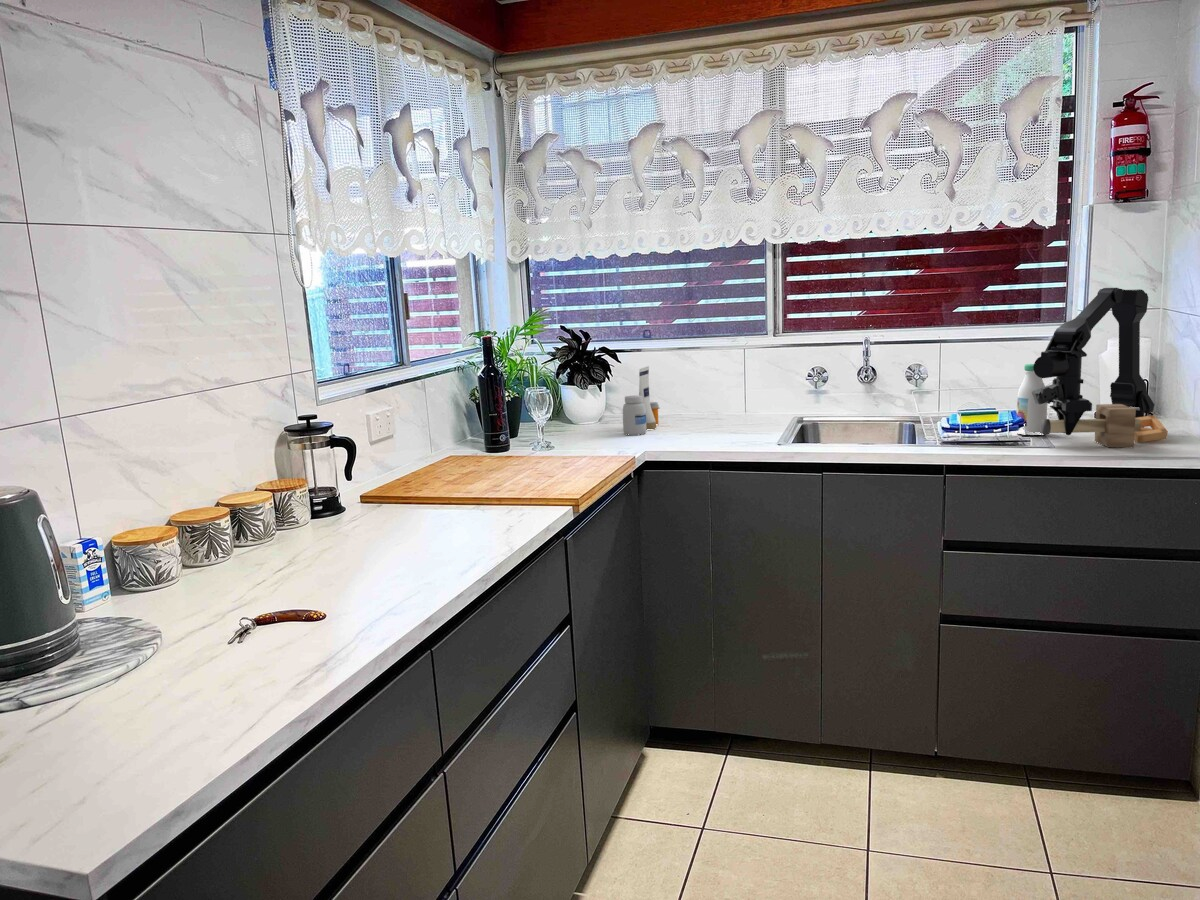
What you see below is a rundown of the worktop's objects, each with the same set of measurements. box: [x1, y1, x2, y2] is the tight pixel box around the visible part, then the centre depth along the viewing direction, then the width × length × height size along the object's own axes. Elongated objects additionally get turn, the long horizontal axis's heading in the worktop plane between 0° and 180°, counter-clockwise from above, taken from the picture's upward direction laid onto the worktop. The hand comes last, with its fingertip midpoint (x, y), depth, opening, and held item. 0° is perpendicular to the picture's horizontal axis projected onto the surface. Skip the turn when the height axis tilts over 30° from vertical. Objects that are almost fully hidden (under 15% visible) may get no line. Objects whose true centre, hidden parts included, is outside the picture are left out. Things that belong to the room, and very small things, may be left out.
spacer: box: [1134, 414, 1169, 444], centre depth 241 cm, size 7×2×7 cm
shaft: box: [1041, 418, 1141, 435], centre depth 239 cm, size 4×23×4 cm, turn 80°
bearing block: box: [1094, 403, 1136, 449], centre depth 238 cm, size 10×6×10 cm, turn 170°
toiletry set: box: [622, 365, 660, 436], centre depth 299 cm, size 25×8×21 cm, turn 159°
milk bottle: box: [1016, 363, 1048, 433], centre depth 257 cm, size 8×8×20 cm
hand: (1066, 433), depth 240 cm, fingers closed on shaft, 3 cm apart
